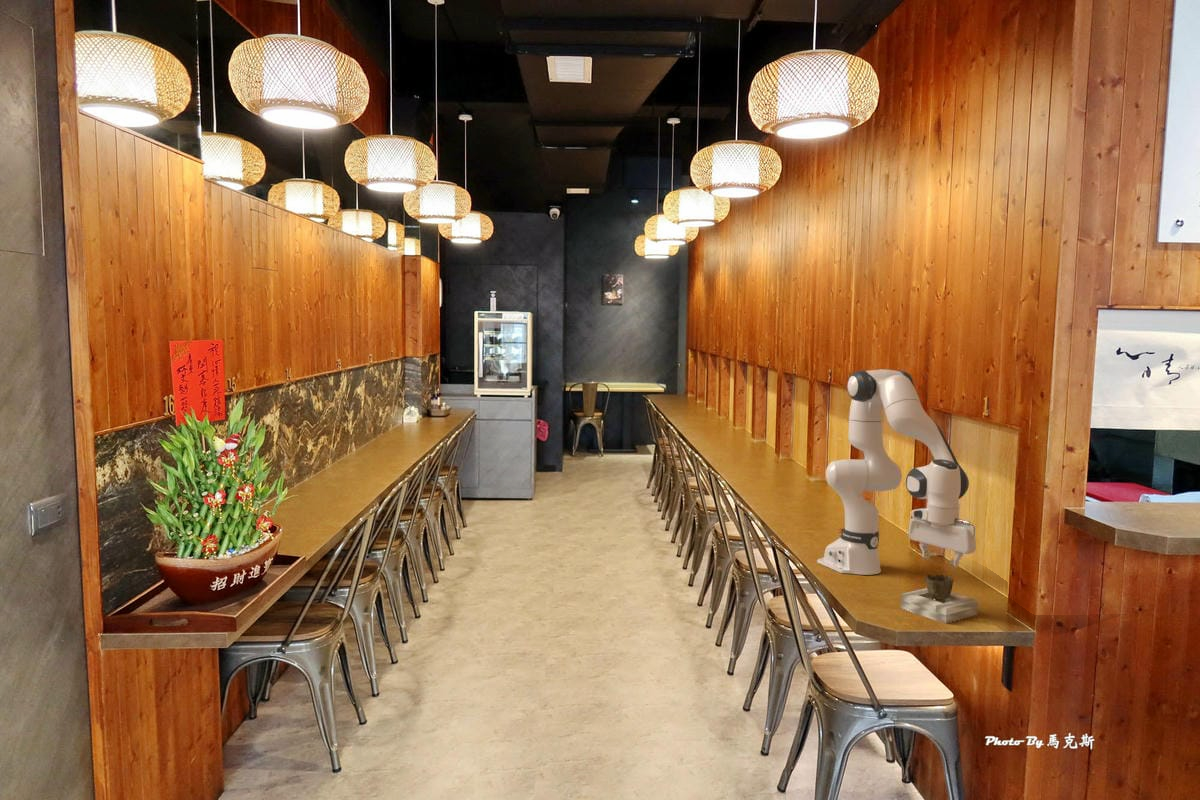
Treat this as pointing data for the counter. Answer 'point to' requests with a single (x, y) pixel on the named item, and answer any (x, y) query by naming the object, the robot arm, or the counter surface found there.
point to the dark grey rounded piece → (939, 587)
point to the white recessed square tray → (939, 606)
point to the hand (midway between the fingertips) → (940, 561)
